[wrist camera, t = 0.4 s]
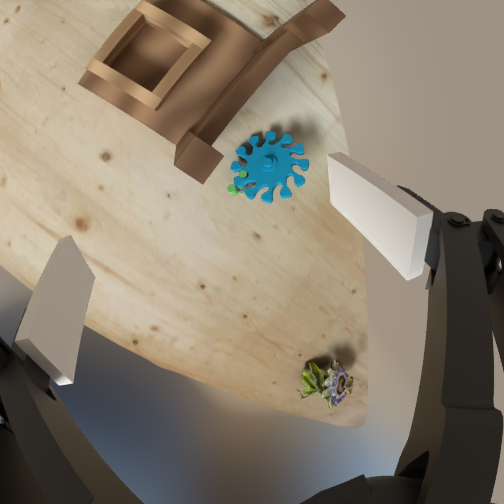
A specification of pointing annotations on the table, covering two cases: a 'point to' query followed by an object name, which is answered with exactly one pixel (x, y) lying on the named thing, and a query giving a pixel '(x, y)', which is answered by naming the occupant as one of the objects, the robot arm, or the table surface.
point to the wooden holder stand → (193, 70)
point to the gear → (268, 168)
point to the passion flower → (327, 383)
